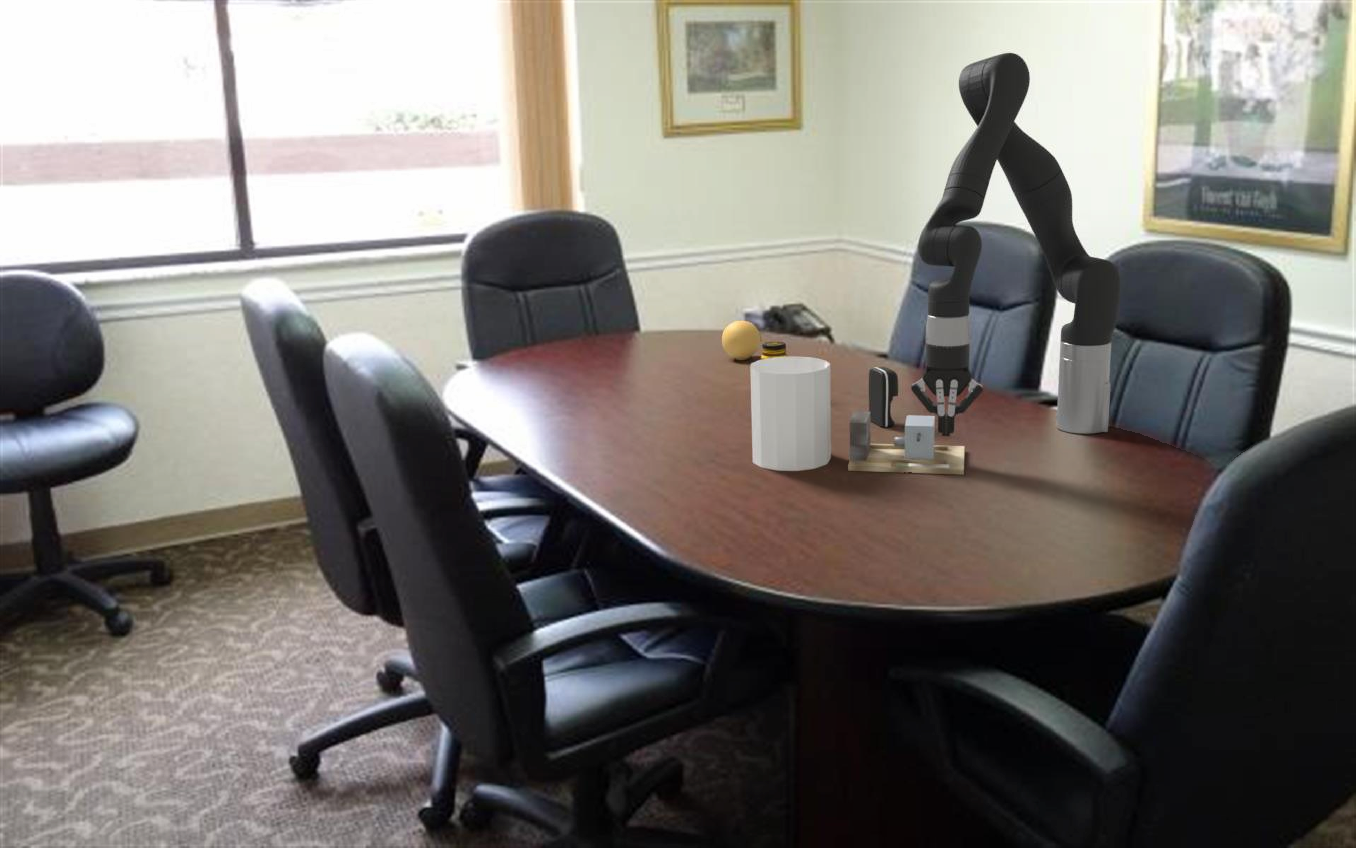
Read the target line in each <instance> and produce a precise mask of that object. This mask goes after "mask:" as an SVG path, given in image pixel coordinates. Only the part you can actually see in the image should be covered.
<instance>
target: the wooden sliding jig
mask: <svg viewBox="0 0 1356 848" xmlns="http://www.w3.org/2000/svg"><path fill="white" fill-rule="evenodd" d="M849 421H850V422H849V462H848V465H847V467H848V468H847V471H852V472H873V473H874V472H881V473H882V472H883V473H904V472H906V474H907V473H908V472H912V474H913V473H914V474H932V475H933V474H940V475H941V474H943V475H965V474H964V473H965V472H964V471H965V445H941V444H939V445H936V444H934V458H933V460H927V459H905V447H894V443H871V420H870V412H869V411H857V410H855V411H853V412H852V416H851V419H850V420H849ZM908 474H909V473H908Z"/></svg>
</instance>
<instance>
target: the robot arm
mask: <svg viewBox="0 0 1356 848" xmlns="http://www.w3.org/2000/svg"><path fill="white" fill-rule="evenodd" d="M958 77H959V78H958V90H959V94H960V98H961V100H962V103H963V104H964V106H965V109H966V110H967V112H968V114H969V116H970V117H971V118H972V120H973V121H974V123H975V125H976V126H977V127H976V128H975V131H974V132H973V133H972V134H971V136H970V137H969V139H968V140H967V142H966V143H965V144H964V146H963V147H962V148H961V150H960V151H959V153H958V154H957V156H956V157H955V159H954V161H953V163H952V165H951V168H950V171H949V173H948V177H947V180H946V183H945V187H944V191H943V194H942V197H941V199H940V201H939V203H938V204H937V206H936V207H935V209H934V211H933V213H932V214H931V215H930V217H929V219H928V220H927V222H926V223H925V225H924V227H923V228H922V231H921V233H920V236H919V238H918V239H919V240H918V243H917V244H918V245H917V249H918V251H917V252H918V254H919V255H918V256H919V258H920V259H921V260H922V261H923V263H925V264H926V265H929V266H933V267H934V266H935V267H952V268H954V269H953V273H952V275H951V276H950V277H949V278H941V279H936V280H934V281H932V282H931V283H929V286H928V290H927V291H928V293H927V296H928V297H927V320H926V325H925V327H926V328H925V368H924V371H923V373H922V377H921V378H920V379H918V381H915V382H912V384H911V386H910V390H911V391H912V393H913V394H914V395H915V397H916V398H917V399H918V401H919V402H920V403H921V404H922V405H923V407H924V408H925V410H927V412H928V413H933V414H935V415H937V431H938V433H939V434H941V437H951V434H953V433H954V432H955V417H956V415H958V414H964V412H965V413H966V411H967V410H968V408H969V407H970V406H971V405H972V404H973V403H974V401H976V399H977V398H978V397H979V396H980V394H981V393H982V392H983V389H984V387H983V386H984V385H983V383H980V382H977V381H976V380H975V379H974V378H973V375H972V372H971V371H970V355H971V354H970V351H971V350H970V348H971V323H970V297H971V295H970V294H971V287H972V283H973V280H974V277H975V276H974V275H975V271H976V269H977V265H978V262H979V260H980V257H981V252H982V248H983V245H982V243H983V241H982V237H981V235H980V232H979V231H978V230H977V229H976V228H975V227H974V226H970V225H963V224H961V225H960V223H961V222H964V221H968V220H973V219H975V218H977V217H978V216H979V215H980V213H981V212H982V209H983V206H984V201H985V200H986V195H987V191H988V188H989V184H990V181H991V178H992V174H993V171H994V169H995V167H996V166H995V165H996V163H997V162H998V164H999V166H1000V168H1001V170H1002V171H1003V173H1004V175H1005V177H1006V180H1007V181H1008V184H1009V187H1010V188H1011V191H1012V192H1013V195H1014V197H1015V199H1016V201H1017V204H1018V205H1019V207H1020V209H1021V211H1022V213H1023V214H1024V216H1025V218H1026V220H1027V222H1028V225H1029V226H1030V228H1031V230H1032V232H1033V234H1034V236H1035V239H1036V241H1037V242H1038V244H1039V246H1040V248H1041V250H1042V253H1043V256H1044V258H1045V261H1046V263H1047V264H1046V265H1047V267H1048V269H1049V272H1050V275H1051V277H1052V280H1053V283H1054V287H1055V289H1056V290H1057V292H1058V294H1059V295H1060V296H1061V298H1063V299H1064V300H1065V301H1067V302H1069V303H1072V304H1074V311H1073V312H1074V313H1073V317H1072V320H1071V321H1070V322H1068V323H1065V324H1064V325H1062V326H1061V331H1060V343H1059V344H1060V345H1059V346H1060V347H1059V366H1058V368H1059V369H1058V383H1057V384H1058V386H1057V387H1058V389H1057V407H1056V409H1057V411H1056V427H1057V429H1058V430H1060V431H1063V432H1066V433H1071V434H1089V435H1090V434H1097V433H1108V432H1109V418H1110V417H1109V416H1110V400H1111V382H1110V374H1111V373H1110V371H1111V370H1110V369H1111V354H1112V338H1113V337H1112V336H1113V333H1114V331H1115V329H1116V327H1117V323H1118V319H1119V318H1118V316H1119V310H1120V309H1119V308H1120V301H1121V300H1120V298H1121V287H1122V283H1121V281H1122V280H1121V273H1120V272H1119V269H1118V267H1117V266H1116V265H1115V264H1114V263H1113V262H1112V261H1110V260H1107V259H1105V258H1100V257H1094V256H1091V255H1089V254H1088V252H1087V250H1086V249H1085V247H1084V246H1083V244H1082V242H1081V241H1080V238H1079V237H1078V235H1077V233H1076V230H1075V226H1074V223H1073V196H1072V195H1073V194H1072V191H1071V188H1070V186H1069V185H1070V184H1069V182H1068V181H1067V178H1066V176H1065V173H1064V171H1063V169H1062V168H1061V165H1060V163H1059V162H1058V160H1057V159H1056V157H1055V156H1054V155H1053V154H1052V153H1051V152H1050V151H1049V150H1048V149H1046V147H1044V146H1043V145H1042V144H1040V143H1039V142H1038V141H1037V140H1035V139H1034V138H1032V137H1031V136H1030V135H1029V134H1027V133H1026V132H1024V130H1022V128H1020V126H1019V125H1018V124H1017V123H1016V122H1015V121H1016V119H1017V117H1018V115H1019V112H1020V111H1021V109H1022V107H1023V104H1024V103H1025V99H1026V98H1027V94H1028V92H1029V88H1030V80H1031V77H1030V70H1029V66H1028V64H1027V62H1026V61H1025V59H1024V58H1023V57H1021V55H1019V54H1017V53H1013V52H1004V53H1001V54H997V55H994V56H990V57H987V58H984V59H981V60H979V61H975V62H972V63H970V64H967V65H966V66H965V67H964V68H962V70H961V72H960V74H959V76H958ZM957 224H959V225H957ZM925 385H926V386H927V387H928V389H929V390H930V392H931V393H932V395H934V396H935V397H936V404H935V403H934V402H933V400H932V399H931V398H930V397H929V395H928V394H927V393H926V392H925V391H926V386H925ZM968 385H969V386H968ZM967 387H968V390H967V391H968V393H967V394H966V395H965V397H963V399H962V400H961V401H960V402H959V404H957V403H956V402H957V397H960V395H961V394H962V393H963V392H964V390H965V389H966V388H967ZM945 397H948V405H947V413H946V405H945V402H946V401H945Z"/></svg>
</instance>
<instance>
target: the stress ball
mask: <svg viewBox="0 0 1356 848" xmlns="http://www.w3.org/2000/svg"><path fill="white" fill-rule="evenodd" d="M761 342H762V336H761V332H759V330H758V328H757V326H756V324H755V323H753V322H751V321H750V322H749V321H747V320H741V319H740V320H735V321H733V322H731V323H729V324H728V325H727V326H726V327H725V328H724V330H723V332H722V336H721V344H722V347H723V350H724V351H725V352H726V353H727V354H728V355H729V357H732V358H733V359H735V360H737V361H747V360H748V359H749V358H750V357H752V356H754V355H755V354H756V353H757V351H758V350H759V348H760V345H761Z"/></svg>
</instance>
